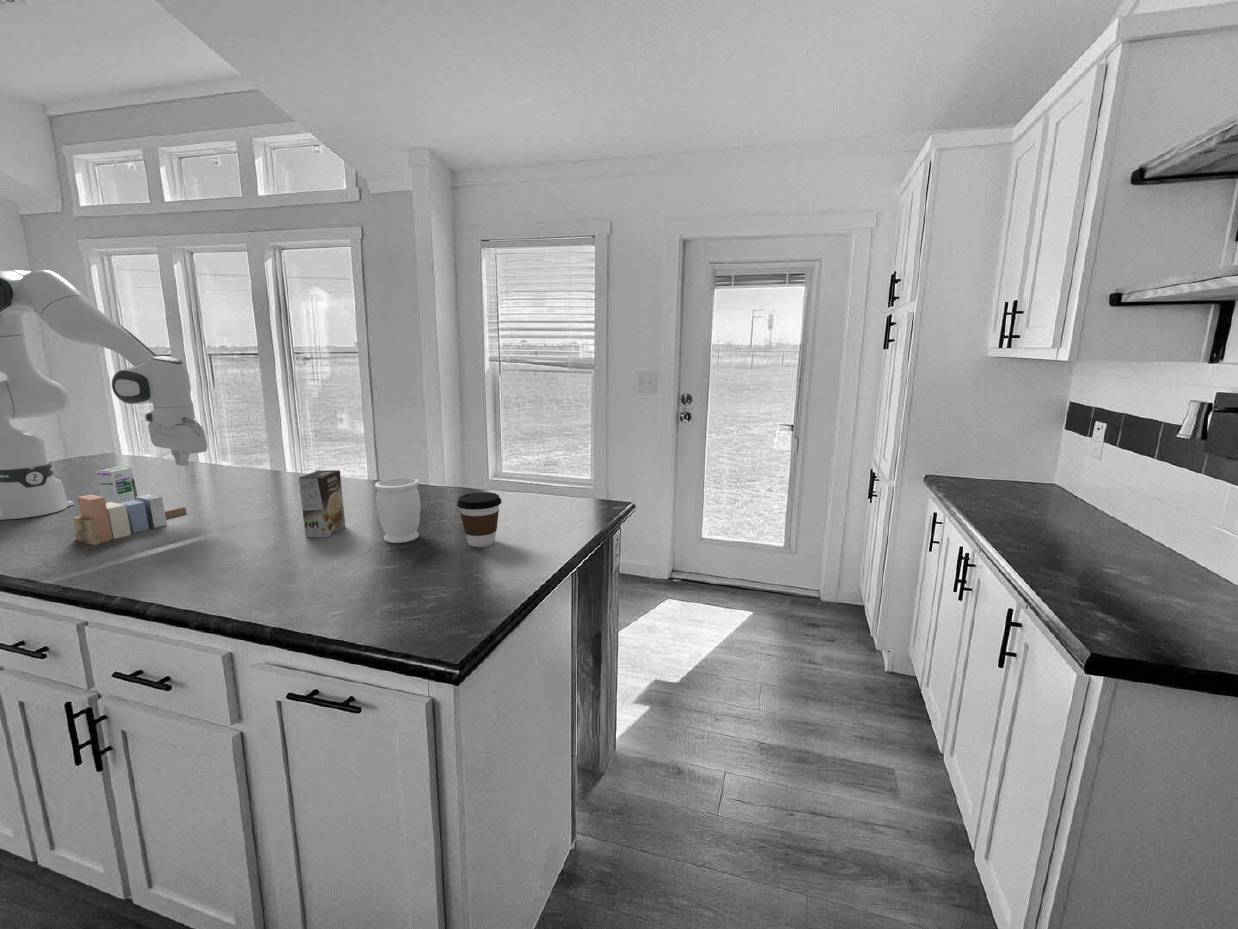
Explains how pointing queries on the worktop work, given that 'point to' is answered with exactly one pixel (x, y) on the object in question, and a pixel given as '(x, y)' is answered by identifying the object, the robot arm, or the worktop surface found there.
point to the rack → (89, 532)
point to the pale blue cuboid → (136, 515)
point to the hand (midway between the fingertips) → (182, 465)
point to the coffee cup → (480, 517)
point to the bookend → (154, 510)
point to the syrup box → (117, 484)
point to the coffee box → (322, 503)
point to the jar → (398, 508)
